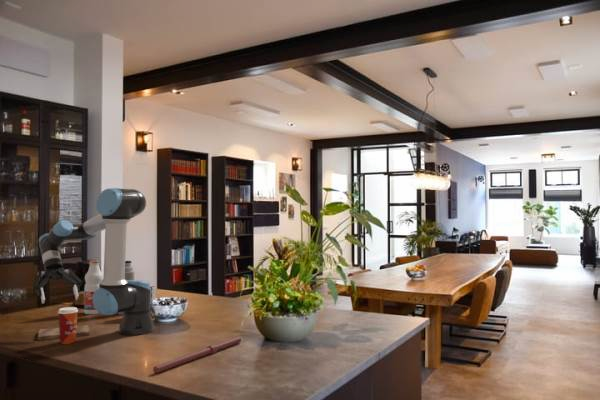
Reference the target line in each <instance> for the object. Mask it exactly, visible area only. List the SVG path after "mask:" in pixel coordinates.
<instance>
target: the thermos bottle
mask: <svg viewBox="0 0 600 400" xmlns="http://www.w3.org/2000/svg"><path fill="white" fill-rule="evenodd" d="M125 279H126V280H135V270H134V267H133V266H132V261H131V260H125ZM117 315H120V316H121V315H122V316H123V312H120V313H117Z"/></svg>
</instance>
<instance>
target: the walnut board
mask: <svg viewBox="0 0 600 400" xmlns="http://www.w3.org/2000/svg"><path fill="white" fill-rule="evenodd" d="M83 336H84V337H85V336H90V327H89V325H88V324H83V325H76V337H83ZM56 339H60V329H59V327H51V328H40V329H38V336H37V341H46V340H56Z"/></svg>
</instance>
